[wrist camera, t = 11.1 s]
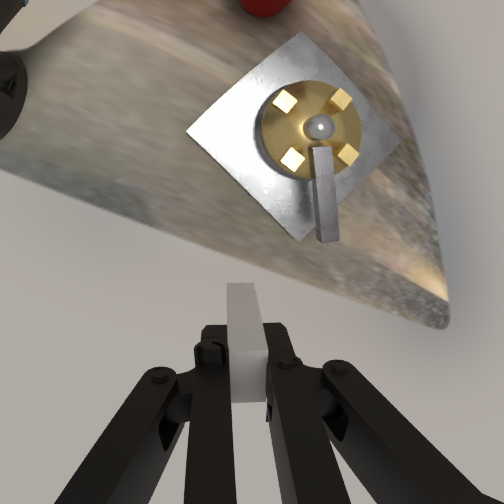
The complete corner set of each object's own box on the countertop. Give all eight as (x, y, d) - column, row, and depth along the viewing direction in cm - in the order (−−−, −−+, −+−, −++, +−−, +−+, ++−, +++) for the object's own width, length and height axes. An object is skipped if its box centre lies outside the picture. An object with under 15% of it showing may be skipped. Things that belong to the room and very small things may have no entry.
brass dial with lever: (253, 89, 32) (259, 77, 27) (345, 84, 33) (365, 74, 27) (273, 237, 38) (281, 252, 32) (359, 224, 38) (380, 237, 32)
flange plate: (187, 132, 37) (183, 129, 33) (298, 34, 34) (305, 23, 30) (295, 239, 43) (302, 248, 39) (395, 142, 39) (409, 142, 36)
